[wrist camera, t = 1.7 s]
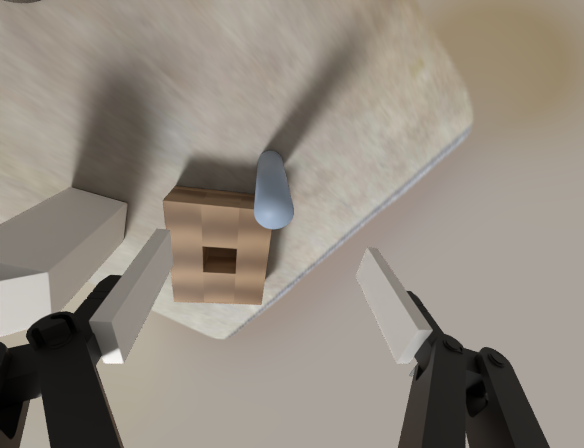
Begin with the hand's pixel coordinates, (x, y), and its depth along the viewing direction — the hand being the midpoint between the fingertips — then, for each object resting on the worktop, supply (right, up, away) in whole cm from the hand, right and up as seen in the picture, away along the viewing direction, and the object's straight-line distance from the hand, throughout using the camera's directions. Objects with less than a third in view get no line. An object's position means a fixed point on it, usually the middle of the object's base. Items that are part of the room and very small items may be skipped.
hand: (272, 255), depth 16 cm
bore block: (-10, -1, +23) cm, 25 cm away
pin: (-2, +11, +18) cm, 21 cm away
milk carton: (-27, +4, +19) cm, 33 cm away
